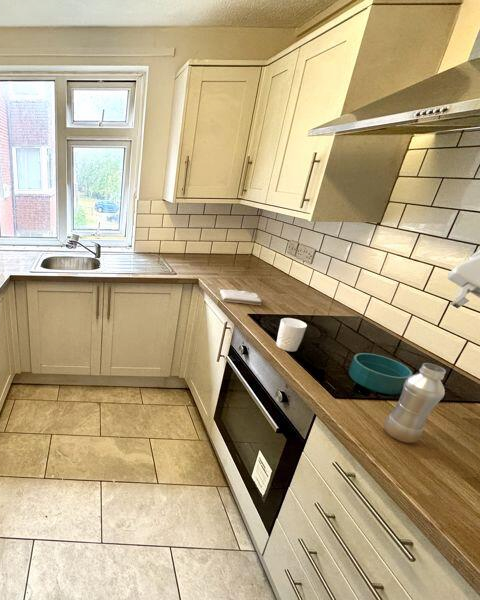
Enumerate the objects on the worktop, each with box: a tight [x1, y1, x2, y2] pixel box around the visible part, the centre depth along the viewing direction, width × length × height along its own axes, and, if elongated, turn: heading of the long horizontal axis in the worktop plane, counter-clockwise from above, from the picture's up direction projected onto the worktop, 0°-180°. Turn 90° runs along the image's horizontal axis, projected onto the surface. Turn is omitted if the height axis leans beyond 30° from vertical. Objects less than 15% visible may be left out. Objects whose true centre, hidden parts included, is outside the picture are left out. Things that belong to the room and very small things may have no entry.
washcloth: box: [219, 289, 263, 306], centre depth 158 cm, size 12×18×3 cm, turn 75°
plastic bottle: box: [383, 362, 447, 444], centre depth 73 cm, size 6×7×20 cm
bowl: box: [347, 352, 414, 395], centre depth 96 cm, size 13×13×6 cm
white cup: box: [275, 317, 308, 352], centre depth 114 cm, size 8×8×10 cm
